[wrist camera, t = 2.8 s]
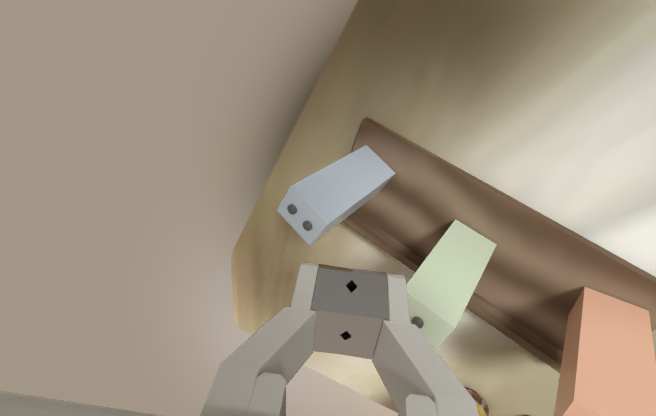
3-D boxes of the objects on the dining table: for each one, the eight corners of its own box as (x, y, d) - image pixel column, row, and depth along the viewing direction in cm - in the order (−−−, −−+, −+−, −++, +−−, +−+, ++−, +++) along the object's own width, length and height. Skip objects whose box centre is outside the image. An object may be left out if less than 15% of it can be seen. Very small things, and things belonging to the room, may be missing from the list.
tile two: (366, 144, 42) (289, 186, 32) (395, 173, 41) (326, 225, 31) (349, 167, 45) (273, 212, 35) (376, 194, 44) (307, 248, 34)
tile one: (455, 219, 39) (401, 291, 29) (496, 244, 37) (454, 330, 27) (438, 244, 42) (383, 318, 32) (476, 269, 40) (431, 355, 30)
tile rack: (367, 117, 42) (354, 123, 40) (692, 297, 30) (698, 319, 28) (336, 203, 50) (325, 212, 48) (579, 369, 39) (577, 389, 37)
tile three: (584, 286, 34) (573, 403, 24) (648, 310, 31) (666, 452, 21) (567, 316, 36) (550, 434, 26) (626, 341, 34) (632, 482, 23)
